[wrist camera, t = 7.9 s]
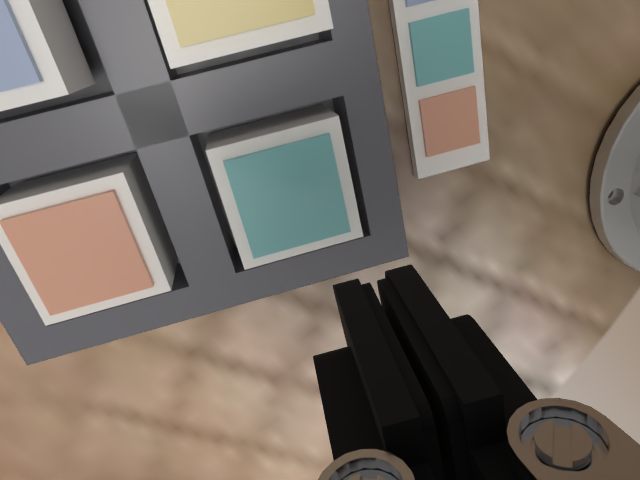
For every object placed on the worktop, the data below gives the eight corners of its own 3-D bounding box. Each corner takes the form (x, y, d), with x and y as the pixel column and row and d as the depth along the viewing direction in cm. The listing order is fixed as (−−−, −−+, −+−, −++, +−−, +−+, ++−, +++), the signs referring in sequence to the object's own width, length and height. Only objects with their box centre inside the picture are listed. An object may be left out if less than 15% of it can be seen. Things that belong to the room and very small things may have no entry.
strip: (462, -110, 19) (471, -115, 19) (483, 156, 24) (491, 160, 23) (375, -89, 19) (381, -94, 18) (414, 175, 24) (419, 180, 23)
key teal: (323, 103, 21) (340, 116, 18) (346, 210, 23) (365, 239, 20) (208, 133, 21) (205, 152, 17) (242, 239, 23) (244, 273, 19)
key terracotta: (137, 152, 20) (121, 174, 17) (178, 257, 22) (170, 294, 19) (16, 183, 20) (-23, 212, 17) (69, 287, 22) (43, 330, 19)
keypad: (313, -193, 18) (329, -234, 15) (388, 231, 25) (408, 256, 22) (-178, -87, 16) (-259, -110, 14) (50, 326, 23) (27, 365, 21)
